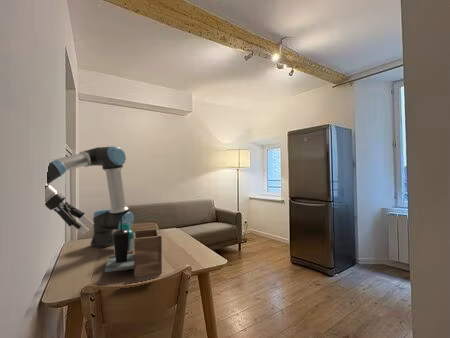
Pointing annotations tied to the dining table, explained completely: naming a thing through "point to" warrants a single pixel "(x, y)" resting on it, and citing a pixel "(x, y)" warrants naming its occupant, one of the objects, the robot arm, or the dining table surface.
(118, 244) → the drinking cup
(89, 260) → the dining table surface
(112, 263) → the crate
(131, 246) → the vase
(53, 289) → the dining table surface
